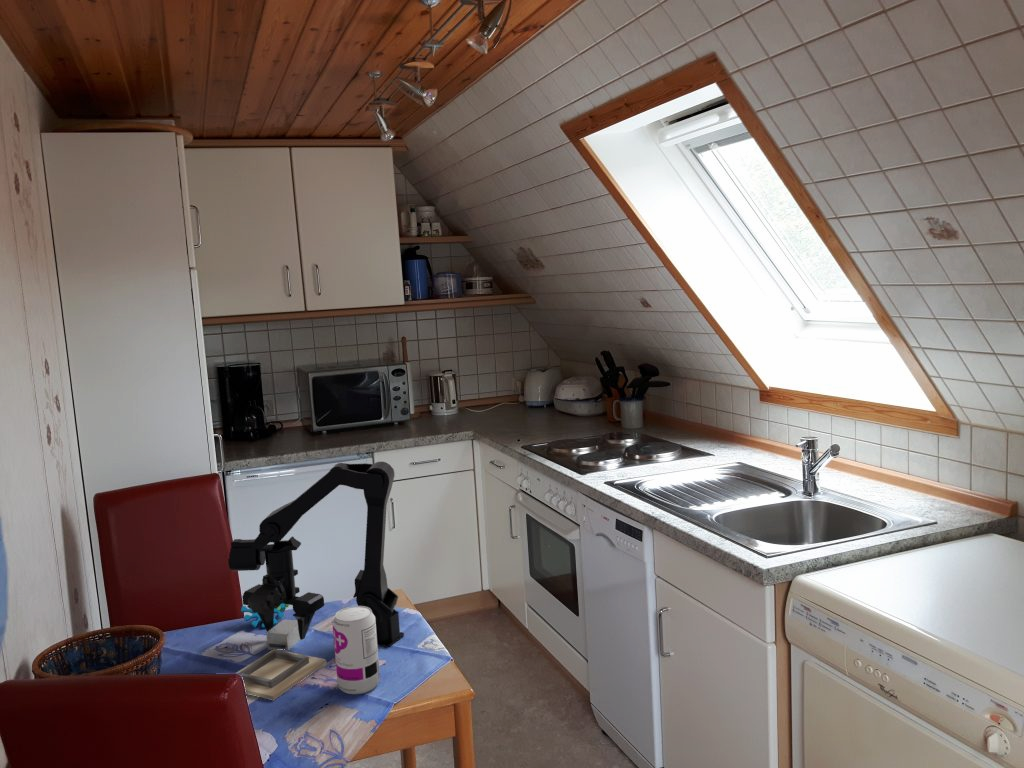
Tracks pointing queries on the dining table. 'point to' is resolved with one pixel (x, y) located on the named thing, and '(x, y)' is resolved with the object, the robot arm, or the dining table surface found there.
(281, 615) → the gear
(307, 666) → the dock
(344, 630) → the supplement can
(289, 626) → the block
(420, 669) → the dining table surface
